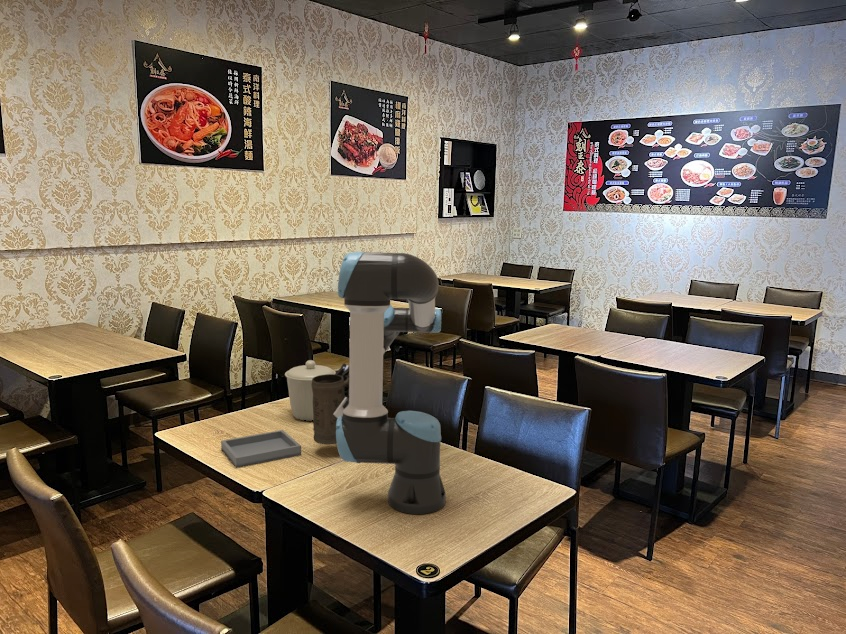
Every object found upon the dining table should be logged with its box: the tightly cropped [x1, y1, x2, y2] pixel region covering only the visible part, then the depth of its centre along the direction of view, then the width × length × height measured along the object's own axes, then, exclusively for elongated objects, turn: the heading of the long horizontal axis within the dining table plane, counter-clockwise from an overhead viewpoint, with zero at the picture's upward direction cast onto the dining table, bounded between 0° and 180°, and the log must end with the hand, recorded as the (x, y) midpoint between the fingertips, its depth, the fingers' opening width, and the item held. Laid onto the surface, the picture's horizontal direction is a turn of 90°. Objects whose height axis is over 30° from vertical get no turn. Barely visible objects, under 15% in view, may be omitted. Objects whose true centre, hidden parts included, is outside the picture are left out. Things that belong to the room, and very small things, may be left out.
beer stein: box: [311, 374, 349, 446], centre depth 195 cm, size 15×11×20 cm
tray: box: [220, 429, 302, 469], centre depth 194 cm, size 16×20×3 cm
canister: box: [284, 359, 337, 422], centre depth 227 cm, size 18×18×21 cm
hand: (326, 412), depth 193 cm, fingers closed on beer stein, 9 cm apart
